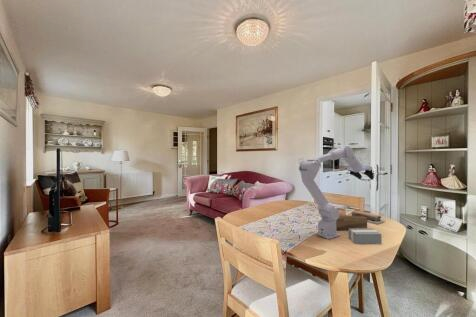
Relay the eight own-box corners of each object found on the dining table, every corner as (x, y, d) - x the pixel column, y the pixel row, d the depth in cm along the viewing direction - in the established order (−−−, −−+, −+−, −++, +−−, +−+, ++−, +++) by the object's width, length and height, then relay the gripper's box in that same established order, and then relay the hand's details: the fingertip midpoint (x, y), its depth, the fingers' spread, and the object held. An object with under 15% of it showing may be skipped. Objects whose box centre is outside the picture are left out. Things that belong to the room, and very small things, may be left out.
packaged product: (349, 211, 145) (357, 209, 150) (349, 218, 145) (357, 216, 150) (377, 217, 129) (385, 215, 134) (377, 225, 129) (385, 222, 134)
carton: (381, 244, 103) (381, 233, 103) (356, 244, 104) (355, 233, 104) (372, 237, 111) (372, 228, 111) (348, 237, 112) (348, 228, 112)
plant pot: (341, 222, 137) (341, 211, 137) (332, 219, 143) (332, 208, 143) (348, 220, 140) (348, 209, 140) (339, 217, 146) (339, 207, 146)
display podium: (367, 230, 121) (367, 218, 121) (335, 230, 122) (335, 218, 122) (362, 227, 126) (362, 215, 126) (332, 227, 128) (331, 216, 127)
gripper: (368, 156, 116) (381, 173, 119) (346, 158, 129) (358, 173, 132) (362, 165, 114) (376, 182, 117) (340, 166, 127) (353, 181, 130)
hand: (366, 178), depth 124 cm, fingers open, 7 cm apart
